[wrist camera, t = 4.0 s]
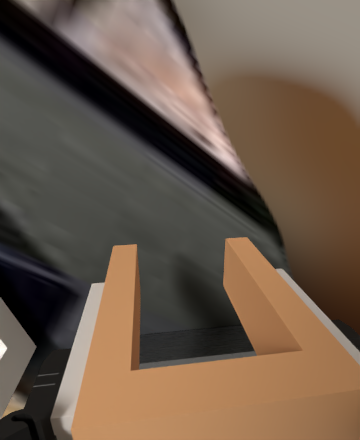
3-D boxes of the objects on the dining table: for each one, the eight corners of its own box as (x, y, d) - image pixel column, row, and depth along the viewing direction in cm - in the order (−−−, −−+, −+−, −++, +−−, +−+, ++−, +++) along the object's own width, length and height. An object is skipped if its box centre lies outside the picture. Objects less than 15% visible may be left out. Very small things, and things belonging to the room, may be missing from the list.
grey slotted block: (84, 340, 26) (75, 370, 23) (262, 322, 28) (277, 348, 25) (93, 397, 29) (86, 432, 25) (256, 377, 31) (270, 407, 27)
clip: (113, 246, 16) (70, 429, 7) (246, 237, 17) (378, 386, 8) (118, 294, 18) (89, 509, 8) (242, 283, 19) (352, 464, 9)
